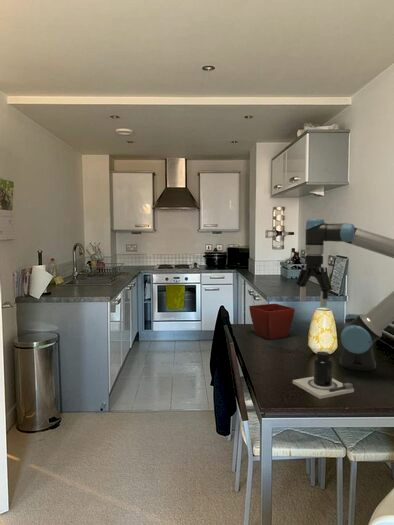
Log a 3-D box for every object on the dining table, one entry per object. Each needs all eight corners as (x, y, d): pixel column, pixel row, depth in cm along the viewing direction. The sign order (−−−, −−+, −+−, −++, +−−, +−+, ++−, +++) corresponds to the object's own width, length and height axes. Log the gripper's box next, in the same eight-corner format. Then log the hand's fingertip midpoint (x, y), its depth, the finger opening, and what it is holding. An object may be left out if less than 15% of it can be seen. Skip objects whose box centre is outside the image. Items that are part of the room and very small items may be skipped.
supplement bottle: (327, 380, 156) (328, 350, 155) (334, 386, 149) (335, 355, 148) (310, 380, 156) (311, 350, 155) (317, 387, 149) (317, 356, 148)
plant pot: (247, 333, 231) (248, 305, 230) (274, 330, 239) (275, 303, 238) (266, 342, 214) (267, 311, 213) (295, 338, 222) (295, 308, 221)
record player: (324, 377, 163) (324, 370, 163) (353, 391, 148) (354, 384, 148) (292, 383, 156) (292, 376, 156) (319, 398, 142) (320, 391, 142)
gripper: (289, 253, 180) (288, 299, 181) (327, 256, 157) (325, 309, 158) (302, 253, 183) (301, 298, 184) (342, 256, 160) (340, 308, 161)
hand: (312, 303), depth 171 cm, fingers open, 13 cm apart
